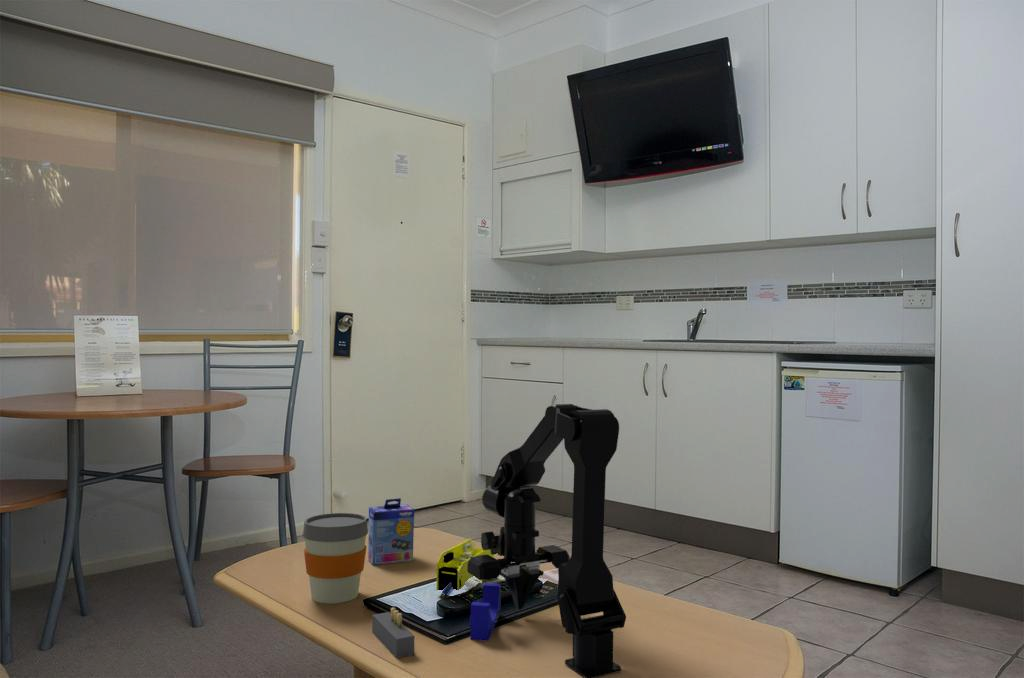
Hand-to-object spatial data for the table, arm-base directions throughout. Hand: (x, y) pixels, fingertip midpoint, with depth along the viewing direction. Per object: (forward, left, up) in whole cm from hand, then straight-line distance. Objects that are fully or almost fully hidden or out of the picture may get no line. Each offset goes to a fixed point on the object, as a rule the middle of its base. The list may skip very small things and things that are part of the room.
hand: (519, 608), depth 136 cm
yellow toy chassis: (+20, +1, -2) cm, 20 cm away
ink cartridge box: (+45, +8, -2) cm, 46 cm away
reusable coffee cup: (+27, +26, -2) cm, 38 cm away
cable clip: (-1, +8, -2) cm, 8 cm away
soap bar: (+12, -18, -2) cm, 21 cm away
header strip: (0, +24, -2) cm, 25 cm away
